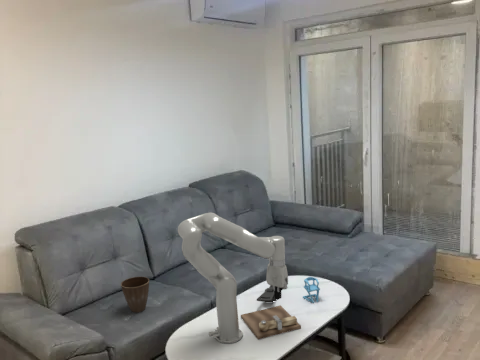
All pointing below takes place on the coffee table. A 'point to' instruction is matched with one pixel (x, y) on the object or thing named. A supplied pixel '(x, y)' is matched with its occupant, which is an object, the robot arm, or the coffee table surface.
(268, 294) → the zipper pull
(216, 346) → the coffee table surface
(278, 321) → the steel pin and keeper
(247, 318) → the walnut board
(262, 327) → the link
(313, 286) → the chair
